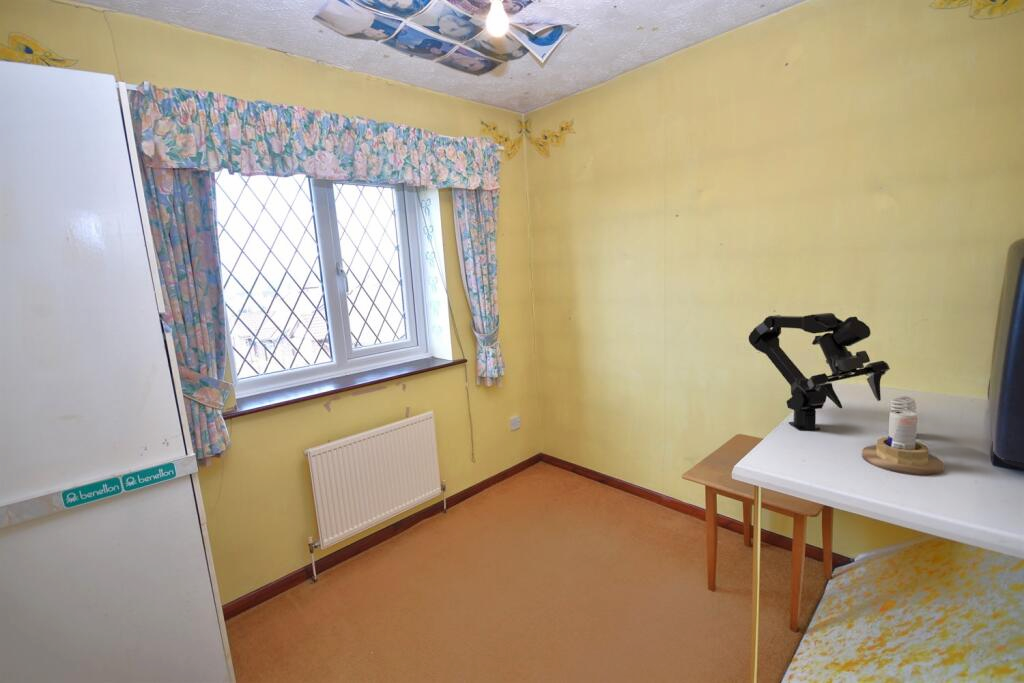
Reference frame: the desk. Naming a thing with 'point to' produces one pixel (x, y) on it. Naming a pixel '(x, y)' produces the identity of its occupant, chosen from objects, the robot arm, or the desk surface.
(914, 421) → the energy drink
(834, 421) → the desk surface
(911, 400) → the light bulb
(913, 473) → the can stand
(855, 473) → the desk surface
